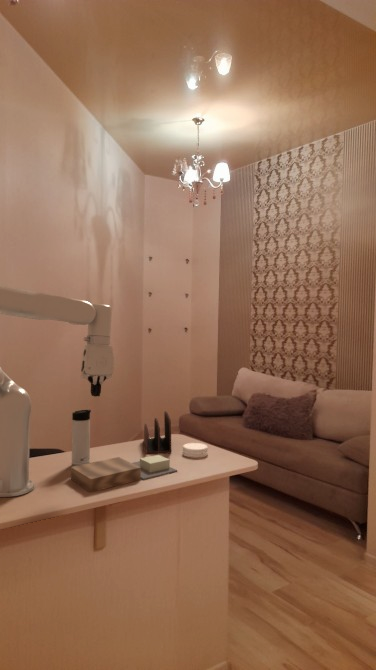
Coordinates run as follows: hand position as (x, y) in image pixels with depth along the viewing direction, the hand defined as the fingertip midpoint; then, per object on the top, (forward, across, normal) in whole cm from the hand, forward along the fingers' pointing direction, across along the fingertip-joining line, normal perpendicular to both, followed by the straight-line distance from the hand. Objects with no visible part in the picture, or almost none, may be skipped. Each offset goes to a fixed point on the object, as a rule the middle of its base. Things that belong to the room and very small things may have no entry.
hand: (95, 395), depth 148 cm
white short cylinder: (+25, +44, -1) cm, 51 cm away
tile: (+24, +21, -6) cm, 33 cm away
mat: (+26, +19, -6) cm, 33 cm away
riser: (+27, +2, -6) cm, 27 cm away
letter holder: (+26, +38, +16) cm, 49 cm away
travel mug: (+27, +2, +12) cm, 30 cm away
